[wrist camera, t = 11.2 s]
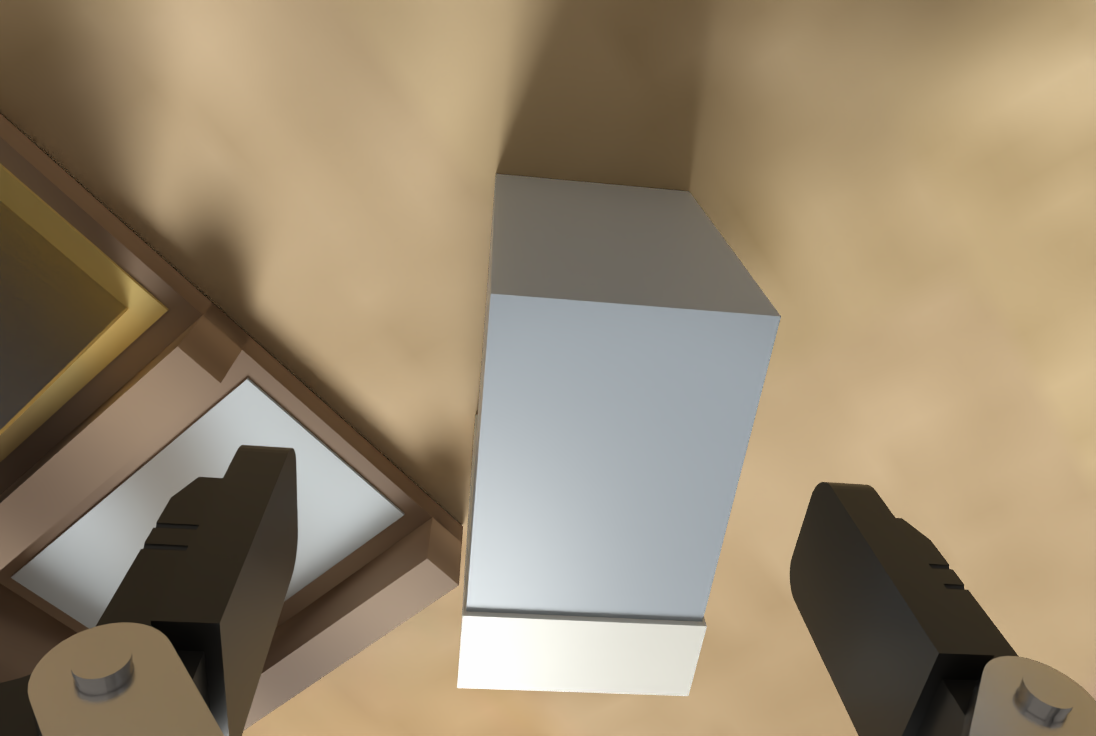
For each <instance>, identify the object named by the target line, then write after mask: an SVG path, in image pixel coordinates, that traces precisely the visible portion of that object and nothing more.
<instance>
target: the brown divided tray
mask: <svg viewBox="0 0 1096 736" xmlns="http://www.w3.org/2000/svg"><path fill="white" fill-rule="evenodd" d="M0 201H2V202H3V203H4V204H5V205H6V206H7V207H9V208H10V209H11V210H12V211H13V212H15V213H16V214H17V215H18V216H19V217H20V218H22V219H23V220H24V221H25V222H26V223H28V224H29V225H30V226H31V227H32V228H33V229H35V230H36V231H37V232H38V233H39V234H40V235H42V236H43V237H44V238H45V239H46V240H48V241H49V242H50V243H51V244H52V245H53V246H55V247H56V248H57V249H58V250H59V251H61V252H62V253H63V254H64V255H65V256H66V257H68V258H69V259H70V260H71V261H72V262H74V263H75V264H76V265H77V266H78V267H79V268H81V269H82V270H83V271H84V272H85V273H86V274H88V275H89V276H90V277H91V278H92V279H94V280H95V281H96V282H97V283H98V284H99V285H101V286H102V287H103V288H104V289H105V290H107V291H108V292H109V293H110V294H111V295H112V296H114V297H115V298H116V299H117V300H118V301H120V302H121V303H122V304H123V305H124V306H125V307H127V308H128V310H127V311H126V312H125V313H124V314H123V315H122V316H121V317H120V318H119V319H118V320H117V321H116V322H115V323H114V324H113V325H112V326H111V327H110V328H109V329H108V330H107V331H106V332H105V333H104V334H103V335H102V336H101V337H100V338H99V339H98V340H97V341H96V342H95V343H94V344H93V345H92V346H91V347H90V348H89V349H88V350H87V351H86V352H85V353H84V354H83V355H82V356H81V357H80V358H78V359H77V360H76V361H75V362H74V363H73V364H72V365H71V366H70V367H69V368H68V369H67V370H66V371H65V372H64V373H63V374H62V375H61V376H60V377H59V378H58V379H57V380H56V381H55V382H54V383H53V384H52V385H51V386H50V387H49V388H48V389H47V390H46V391H45V392H44V393H43V394H42V395H41V396H40V397H39V398H38V399H37V400H36V401H35V402H34V403H33V404H32V405H31V406H30V407H29V408H28V409H27V410H26V411H25V412H24V413H23V414H22V415H20V416H19V417H18V418H17V419H16V420H15V421H14V422H13V423H12V424H11V425H10V426H9V427H8V428H7V429H6V430H5V431H4V432H3V433H2V434H1V435H0V683H2V682H6V681H10V680H14V679H18V678H21V677H24V676H27V675H30V674H32V672H33V670H34V669H35V667H36V665H37V664H38V663H39V661H40V660H41V659H42V658H43V657H44V656H45V655H46V654H47V653H48V652H49V651H50V650H51V649H52V648H54V647H55V646H56V645H58V644H59V643H61V642H62V641H64V640H66V639H67V638H69V637H71V636H73V635H75V634H77V633H79V632H82V631H84V630H87V629H90V628H93V627H95V626H96V625H97V623H98V621H99V619H100V618H101V616H102V614H103V613H104V611H105V609H106V608H107V606H108V604H109V602H110V601H111V599H112V597H113V596H114V594H115V592H116V590H117V589H118V587H119V585H120V584H121V582H122V580H123V579H124V577H125V575H126V573H127V572H128V570H129V568H130V567H131V565H132V563H133V561H134V560H135V558H136V556H137V555H138V553H139V551H140V549H143V548H144V543H145V541H146V539H147V538H148V536H149V534H150V532H151V531H152V529H153V528H156V522H157V520H158V519H159V517H160V515H161V514H162V512H163V510H164V509H165V507H166V505H167V503H168V502H169V500H170V498H171V497H172V496H174V495H175V494H176V493H178V492H179V491H180V490H182V489H183V488H184V487H186V486H187V485H188V484H190V483H191V482H192V481H194V480H195V479H196V478H198V477H212V478H223V477H224V475H225V473H226V471H227V469H228V467H229V465H230V463H231V461H232V459H233V457H234V455H235V453H236V451H237V450H238V448H239V447H240V446H241V445H253V446H269V447H285V448H293V449H294V450H295V454H296V469H297V509H298V544H297V554H296V561H295V566H294V571H293V575H292V578H291V581H290V585H289V588H288V591H287V594H286V597H285V600H284V604H283V607H282V610H281V613H280V616H279V619H278V623H277V626H276V629H275V632H274V635H273V638H272V642H271V645H270V648H269V651H268V654H267V657H266V660H265V664H264V667H263V670H262V673H261V676H260V679H259V683H258V686H257V689H256V692H255V695H254V698H253V702H252V705H251V708H250V711H249V714H248V717H247V721H246V724H245V727H244V730H245V729H247V728H248V727H250V726H251V725H253V724H254V723H256V722H257V721H258V720H260V719H261V718H263V717H264V716H266V715H267V714H269V713H270V712H272V711H273V710H275V709H276V708H278V707H279V706H281V705H282V704H284V703H285V702H287V701H288V700H290V699H291V698H293V697H294V696H296V695H297V694H298V693H300V692H301V691H303V690H304V689H306V688H307V687H309V686H310V685H312V684H313V683H315V682H316V681H318V680H319V679H321V678H322V677H324V676H325V675H327V674H328V673H330V672H331V671H333V670H334V669H336V668H337V667H338V666H340V665H341V664H343V663H344V662H346V661H347V660H349V659H350V658H352V657H353V656H355V655H356V654H358V653H359V652H361V651H362V650H364V649H365V648H367V647H368V646H370V645H371V644H373V643H374V642H375V641H377V640H378V639H380V638H381V637H383V636H384V635H386V634H387V633H389V632H390V631H392V630H393V629H395V628H396V627H398V626H399V625H401V624H402V623H404V622H405V621H407V620H408V619H410V618H411V617H413V616H414V615H415V614H417V613H418V612H420V611H421V610H423V609H424V608H426V607H427V606H429V605H430V604H432V603H433V602H435V601H436V600H438V599H439V598H441V597H442V596H444V595H445V594H447V593H448V592H450V591H451V590H453V589H454V588H455V587H457V586H458V585H459V576H460V562H461V548H462V534H463V526H462V525H461V524H459V523H458V522H457V521H456V520H455V519H454V518H453V517H452V516H451V515H449V514H448V513H447V512H446V511H445V510H444V509H443V508H442V507H440V506H439V505H438V504H437V503H436V502H435V501H434V500H433V499H431V498H430V497H429V496H428V495H427V494H426V493H425V492H424V491H423V490H421V489H420V488H419V487H418V486H417V485H416V484H415V483H414V482H412V481H411V480H410V479H409V478H408V477H407V476H406V475H405V474H403V473H402V472H401V471H400V470H399V469H398V468H397V467H396V466H395V465H393V464H392V463H391V462H390V461H389V460H388V459H387V458H386V457H384V456H383V455H382V454H381V453H380V452H379V451H378V450H377V449H375V448H374V447H373V446H372V445H371V444H370V443H369V442H368V441H366V440H365V439H364V438H363V437H362V436H361V435H360V434H359V433H358V432H356V431H355V430H354V429H353V428H352V427H351V426H350V425H349V424H347V423H346V422H345V421H344V420H343V419H342V418H341V417H340V416H338V415H337V414H336V413H335V412H334V411H333V410H332V409H331V408H330V407H328V406H327V405H326V404H325V403H324V402H323V401H322V400H321V399H319V398H318V397H317V396H316V395H315V394H314V393H313V392H312V391H310V390H309V389H308V388H307V387H306V386H305V385H304V384H303V383H302V382H300V381H299V380H298V379H297V378H296V377H295V376H294V375H293V374H291V373H290V372H289V371H288V370H287V369H286V368H285V367H284V366H282V365H281V364H280V363H279V362H278V361H277V360H276V359H275V358H274V357H272V356H271V355H270V354H269V353H268V352H267V351H266V350H265V349H263V348H262V347H261V346H260V345H259V344H258V343H257V342H256V341H254V340H253V339H252V338H251V337H250V336H249V335H248V334H247V333H246V332H244V331H243V330H242V329H241V328H240V327H239V326H238V325H237V324H235V323H234V322H233V321H232V320H231V319H230V318H229V317H228V316H226V315H225V314H224V313H223V312H222V311H221V310H220V309H219V308H218V307H216V306H215V305H214V304H213V303H212V302H211V301H210V300H209V299H207V298H206V297H205V296H204V295H203V294H202V293H201V292H200V291H198V290H197V289H196V288H195V287H194V286H193V285H192V284H191V283H190V282H188V281H187V280H186V279H185V278H184V277H183V276H182V275H181V274H179V273H178V272H177V271H176V270H175V269H174V268H173V267H172V266H170V265H169V264H168V263H167V262H166V261H165V260H164V259H163V258H162V257H160V256H159V255H158V254H157V253H156V252H155V251H154V250H153V249H151V248H150V247H149V246H148V245H147V244H146V243H145V242H144V241H142V240H141V239H140V238H139V237H138V236H137V235H136V234H135V233H134V232H132V231H131V230H130V229H129V228H128V227H127V226H126V225H125V224H123V223H122V222H121V221H120V220H119V219H118V218H117V217H116V216H114V215H113V214H112V213H111V212H110V211H109V210H108V209H107V208H105V207H104V206H103V205H102V204H101V203H100V202H99V201H98V200H97V199H95V198H94V197H93V196H92V195H91V194H90V193H89V192H88V191H86V190H85V189H84V188H83V187H82V186H81V185H80V184H79V183H77V182H76V181H75V180H74V179H73V178H72V177H71V176H70V175H69V174H67V173H66V172H65V171H64V170H63V169H62V168H61V167H60V166H58V165H57V164H56V163H55V162H54V161H53V160H52V159H51V158H49V157H48V156H47V155H46V154H45V153H44V152H43V151H42V150H41V149H39V148H38V147H37V146H36V145H35V144H34V143H33V142H32V141H30V140H29V139H28V138H27V137H26V136H25V135H24V134H23V133H21V132H20V131H19V130H18V129H17V128H16V127H15V126H14V125H13V124H11V123H10V122H9V121H8V120H7V119H6V118H5V117H4V116H2V115H1V114H0ZM244 730H243V731H244Z"/></svg>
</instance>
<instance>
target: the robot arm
mask: <svg viewBox="0 0 1096 736" xmlns="http://www.w3.org/2000/svg"><path fill="white" fill-rule="evenodd" d="M297 544H298V509H297V469H296V454H295V450H294V449H293V448H285V447H269V446H253V445H241V446H240V447H239V448H238V450H237V451H236V453H235V455H234V457H233V459H232V461H231V463H230V465H229V467H228V469H227V471H226V473H225V475H224V477H223V478H212V477H198V478H196V479H195V480H194V481H192V482H191V483H190V484H188V485H187V486H186V487H184V488H183V489H182V490H180V491H179V492H178V493H176V494H175V495H174V496H172V497H171V498H170V500H169V502H168V503H167V505H166V507H165V509H164V510H163V512H162V514H161V515H160V517H159V519H158V520H157V522H156V528H153V529H152V531H151V532H150V534H149V536H148V538H147V539H146V541H145V543H144V548H143V549H140V551H139V553H138V555H137V556H136V558H135V560H134V561H133V563H132V565H131V567H130V568H129V570H128V572H127V573H126V575H125V577H124V579H123V580H122V582H121V584H120V585H119V587H118V589H117V590H116V592H115V594H114V596H113V597H112V599H111V601H110V602H109V604H108V606H107V608H106V609H105V611H104V613H103V614H102V616H101V618H100V619H99V621H98V623H97V625H96V626H95V627H93V628H90V629H87V630H84V631H82V632H79V633H77V634H75V635H73V636H71V637H69V638H67V639H66V640H64V641H62V642H61V643H59V644H58V645H56V646H55V647H54V648H52V649H51V650H50V651H49V652H48V653H47V654H46V655H45V656H44V657H43V658H42V659H41V660H40V661H39V663H38V664H37V665H36V667H35V669H34V670H33V672H32V674H30V675H27V676H24V677H21V678H18V679H14V680H10V681H6V682H2V683H0V736H242V733H243V730H244V727H245V724H246V721H247V717H248V714H249V711H250V708H251V705H252V702H253V698H254V695H255V692H256V689H257V686H258V683H259V679H260V676H261V673H262V670H263V667H264V664H265V660H266V657H267V654H268V651H269V648H270V645H271V642H272V638H273V635H274V632H275V629H276V626H277V623H278V619H279V616H280V613H281V610H282V607H283V604H284V600H285V597H286V594H287V591H288V588H289V585H290V581H291V578H292V575H293V571H294V566H295V561H296V554H297ZM790 585H791V591H792V595H793V598H794V601H795V603H796V605H797V607H798V609H799V611H800V613H801V615H802V618H803V620H804V622H805V624H806V626H807V628H808V630H809V632H810V634H811V636H812V639H813V641H814V643H815V645H816V647H817V649H818V651H819V653H820V655H821V657H822V660H823V662H824V664H825V666H826V668H827V670H828V672H829V674H830V676H831V679H832V681H833V683H834V685H835V687H836V689H837V691H838V693H839V695H840V697H841V700H842V702H843V704H844V706H845V708H846V710H847V712H848V714H849V716H850V718H851V721H852V723H853V725H854V727H855V729H856V731H857V733H858V735H859V736H1096V701H1095V700H1094V698H1093V697H1092V696H1091V695H1090V694H1089V693H1088V692H1087V691H1086V690H1085V689H1084V688H1082V687H1081V686H1080V685H1079V684H1078V683H1076V682H1075V681H1074V680H1072V679H1071V678H1069V677H1068V676H1066V675H1065V674H1063V673H1061V672H1060V671H1058V670H1056V669H1054V668H1052V667H1050V666H1048V665H1045V664H1043V663H1040V662H1038V661H1035V660H1031V659H1028V658H1023V657H1019V656H1018V655H1017V654H1016V652H1015V651H1014V650H1013V648H1012V647H1011V646H1010V644H1009V643H1008V642H1007V641H1006V639H1005V638H1004V637H1003V635H1002V634H1001V633H1000V631H999V630H998V629H997V627H996V626H995V625H994V623H993V622H992V621H991V619H990V618H989V617H988V615H987V614H986V613H985V611H984V610H983V609H982V608H981V606H980V605H979V604H978V602H977V601H976V600H975V598H974V597H973V596H972V594H971V593H970V592H969V590H965V589H964V584H963V582H962V581H961V580H960V578H959V577H958V576H957V575H956V573H955V572H954V571H953V570H951V569H949V564H948V563H947V561H946V560H945V559H944V557H943V556H942V555H941V553H940V552H939V551H938V549H937V548H936V547H935V545H934V544H933V543H932V542H931V540H929V539H928V538H927V537H926V536H924V535H923V534H922V533H920V532H919V531H918V530H916V529H915V528H914V527H913V526H911V525H910V524H909V523H907V522H906V521H905V520H903V519H902V518H895V517H894V515H893V514H892V513H891V511H890V510H889V509H888V507H887V506H886V504H885V503H884V502H883V500H882V499H881V498H880V496H879V495H878V493H877V492H876V491H875V490H874V488H873V487H871V486H869V485H862V484H845V483H829V482H821V483H819V484H818V485H817V486H816V487H815V489H814V491H813V493H812V496H811V499H810V502H809V505H808V508H807V512H806V515H805V518H804V521H803V524H802V527H801V531H800V534H799V537H798V540H797V543H796V546H795V550H794V553H793V556H792V560H791V565H790Z"/></svg>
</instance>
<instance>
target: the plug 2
mask: <svg viewBox="0 0 1096 736" xmlns="http://www.w3.org/2000/svg"><path fill="white" fill-rule="evenodd" d="M780 318H781V316H780V315H779V313H778V312H777V310H776V309H775V308H774V306H773V305H772V304H771V302H770V301H769V300H768V298H767V297H766V295H765V294H764V293H763V291H762V290H761V289H760V287H759V286H758V285H757V283H756V282H755V280H754V279H753V278H752V276H751V275H750V274H749V272H748V271H747V269H746V268H745V267H744V265H743V264H742V263H741V261H740V260H739V259H738V257H737V256H736V254H735V253H734V252H733V250H732V249H731V248H730V246H729V245H728V244H727V242H726V241H725V239H724V238H723V237H722V235H721V234H720V233H719V231H718V230H717V229H716V227H715V226H714V224H713V223H712V222H711V220H710V219H709V218H708V216H707V215H706V213H705V212H704V211H703V209H702V208H701V207H700V205H699V204H698V203H697V201H696V200H695V198H694V197H693V196H692V194H691V193H690V192H689V191H679V190H668V189H657V188H647V187H636V186H625V185H614V184H603V183H592V182H581V181H570V180H559V179H549V178H538V177H527V176H516V175H505V174H496V176H495V190H494V203H493V217H492V230H491V243H490V257H489V270H488V283H487V297H486V310H485V324H484V337H483V350H482V364H481V377H480V390H479V404H478V415H476V414H475V427H474V441H473V455H472V468H471V483H470V499H469V514H468V530H467V545H466V561H465V576H464V592H463V607H462V622H461V638H460V653H459V669H458V684H457V688H476V689H504V690H532V691H560V692H589V693H617V694H645V695H673V696H689V692H690V688H691V684H692V680H693V677H694V673H695V669H696V665H697V661H698V658H699V654H700V650H701V646H702V642H703V638H704V635H705V631H706V627H707V626H706V622H705V619H704V613H705V609H706V605H707V601H708V598H709V594H710V590H711V586H712V582H713V578H714V574H715V570H716V566H717V563H718V559H719V555H720V551H721V547H722V543H723V539H724V535H725V531H726V528H727V524H728V520H729V516H730V512H731V508H732V504H733V500H734V497H735V493H736V489H737V485H738V481H739V477H740V473H741V469H742V465H743V462H744V458H745V454H746V450H747V446H748V442H749V438H750V434H751V431H752V427H753V423H754V419H755V415H756V411H757V407H758V403H759V399H760V396H761V392H762V388H763V384H764V380H765V376H766V372H767V368H768V365H769V361H770V357H771V353H772V349H773V345H774V341H775V337H776V333H777V330H778V326H779V322H780Z"/></svg>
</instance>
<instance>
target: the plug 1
mask: <svg viewBox="0 0 1096 736" xmlns="http://www.w3.org/2000/svg"><path fill="white" fill-rule="evenodd" d="M127 310H128V308H127V307H125V306H124V305H123V304H122V303H121V302H120V301H118V300H117V299H116V298H115V297H114V296H112V295H111V294H110V293H109V292H108V291H107V290H105V289H104V288H103V287H102V286H101V285H99V284H98V283H97V282H96V281H95V280H94V279H92V278H91V277H90V276H89V275H88V274H86V273H85V272H84V271H83V270H82V269H81V268H79V267H78V266H77V265H76V264H75V263H74V262H72V261H71V260H70V259H69V258H68V257H66V256H65V255H64V254H63V253H62V252H61V251H59V250H58V249H57V248H56V247H55V246H53V245H52V244H51V243H50V242H49V241H48V240H46V239H45V238H44V237H43V236H42V235H40V234H39V233H38V232H37V231H36V230H35V229H33V228H32V227H31V226H30V225H29V224H28V223H26V222H25V221H24V220H23V219H22V218H20V217H19V216H18V215H17V214H16V213H15V212H13V211H12V210H11V209H10V208H9V207H7V206H6V205H5V204H4V203H3V202H2V201H0V435H1V434H2V433H3V432H4V431H5V430H6V429H7V428H8V427H9V426H10V425H11V424H12V423H13V422H14V421H15V420H16V419H17V418H18V417H19V416H20V415H22V414H23V413H24V412H25V411H26V410H27V409H28V408H29V407H30V406H31V405H32V404H33V403H34V402H35V401H36V400H37V399H38V398H39V397H40V396H41V395H42V394H43V393H44V392H45V391H46V390H47V389H48V388H49V387H50V386H51V385H52V384H53V383H54V382H55V381H56V380H57V379H58V378H59V377H60V376H61V375H62V374H63V373H64V372H65V371H66V370H67V369H68V368H69V367H70V366H71V365H72V364H73V363H74V362H75V361H76V360H77V359H78V358H80V357H81V356H82V355H83V354H84V353H85V352H86V351H87V350H88V349H89V348H90V347H91V346H92V345H93V344H94V343H95V342H96V341H97V340H98V339H99V338H100V337H101V336H102V335H103V334H104V333H105V332H106V331H107V330H108V329H109V328H110V327H111V326H112V325H113V324H114V323H115V322H116V321H117V320H118V319H119V318H120V317H121V316H122V315H123V314H124V313H125V312H126V311H127Z"/></svg>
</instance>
